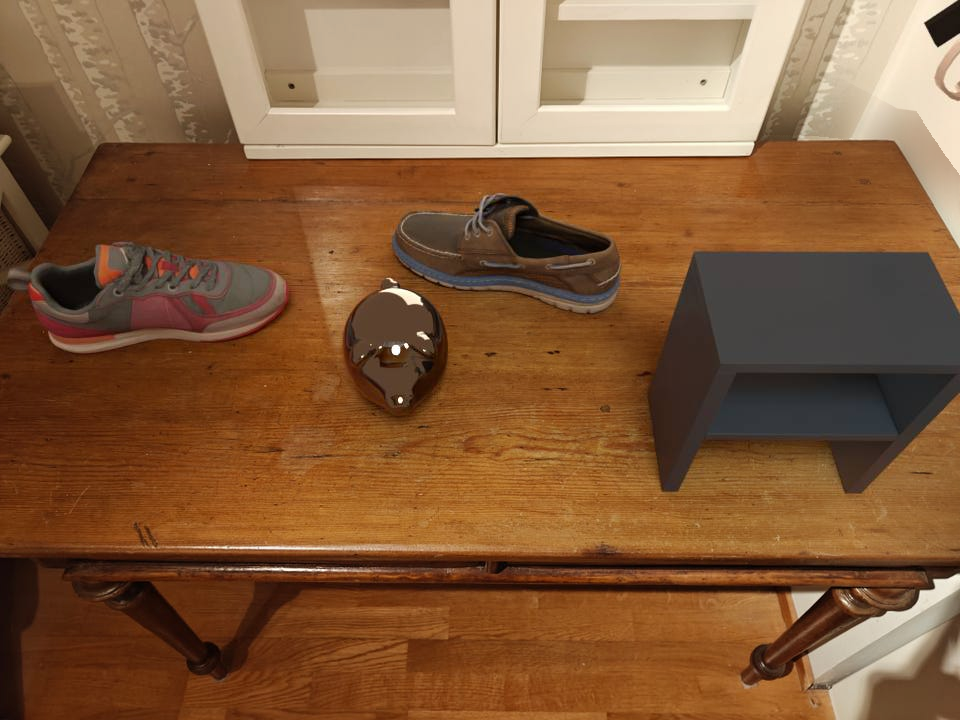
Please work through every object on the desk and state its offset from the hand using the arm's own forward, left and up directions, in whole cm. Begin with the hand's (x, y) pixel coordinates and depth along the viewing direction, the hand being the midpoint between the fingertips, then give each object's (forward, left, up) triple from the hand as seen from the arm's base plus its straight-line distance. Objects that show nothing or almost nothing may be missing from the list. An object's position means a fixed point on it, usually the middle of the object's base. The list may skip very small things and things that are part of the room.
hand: (949, 57), depth 60 cm
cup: (-2, -3, -4) cm, 5 cm away
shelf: (-8, +21, -32) cm, 39 cm away
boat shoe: (+27, +26, -32) cm, 50 cm away
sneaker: (+44, +63, -32) cm, 84 cm away
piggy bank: (+20, +46, -32) cm, 60 cm away
